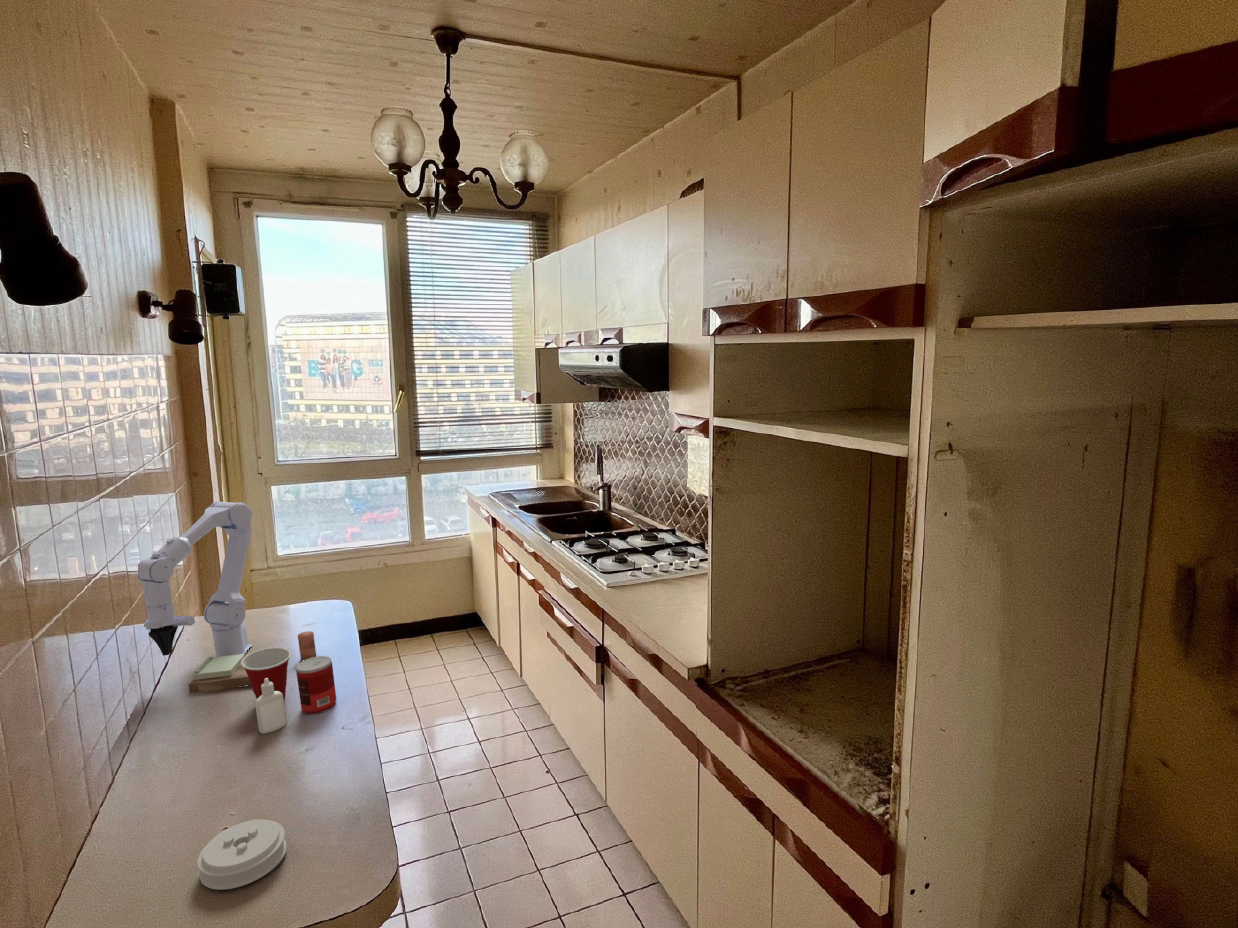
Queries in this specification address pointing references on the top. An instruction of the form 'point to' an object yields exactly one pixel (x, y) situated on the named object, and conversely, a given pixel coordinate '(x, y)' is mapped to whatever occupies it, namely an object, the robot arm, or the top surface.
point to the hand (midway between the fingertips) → (167, 653)
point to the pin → (306, 645)
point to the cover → (218, 666)
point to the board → (220, 682)
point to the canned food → (316, 684)
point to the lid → (242, 854)
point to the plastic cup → (267, 668)
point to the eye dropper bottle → (270, 709)
